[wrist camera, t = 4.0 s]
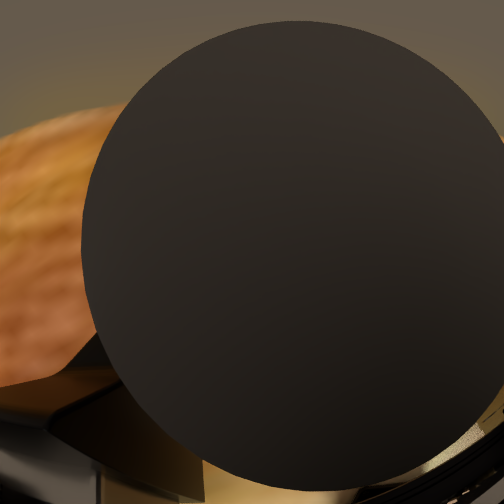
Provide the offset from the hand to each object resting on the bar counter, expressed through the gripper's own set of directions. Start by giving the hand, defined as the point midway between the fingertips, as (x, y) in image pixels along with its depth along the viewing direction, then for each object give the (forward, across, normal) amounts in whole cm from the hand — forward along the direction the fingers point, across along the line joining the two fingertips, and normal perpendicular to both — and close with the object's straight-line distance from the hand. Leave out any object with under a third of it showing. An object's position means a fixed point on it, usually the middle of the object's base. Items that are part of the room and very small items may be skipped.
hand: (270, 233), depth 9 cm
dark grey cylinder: (+3, 0, +5) cm, 6 cm away
